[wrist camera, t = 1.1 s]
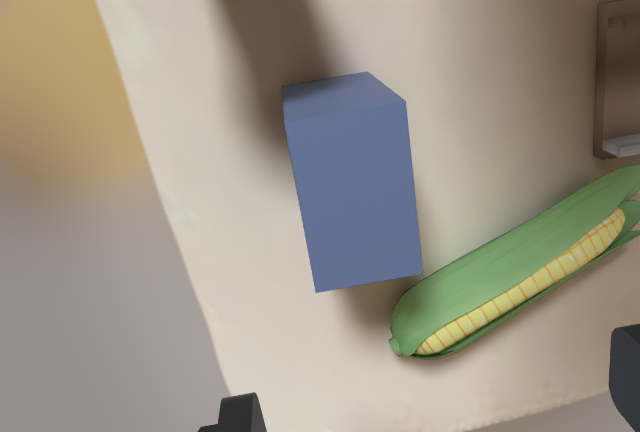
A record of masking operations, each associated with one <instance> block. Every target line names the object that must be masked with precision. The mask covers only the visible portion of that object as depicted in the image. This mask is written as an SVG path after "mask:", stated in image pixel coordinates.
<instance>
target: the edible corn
mask: <svg viewBox="0 0 640 432" xmlns="http://www.w3.org/2000/svg"><path fill="white" fill-rule="evenodd" d="M639 188H640V165H630V166H623V167H621V168H619V169H617V170H615V171H613V172H611V173H609V174H607V175H605V176H603V177H601V178H599V179H597V180H595V181H593V182H592V183H590V184H588V185H586V186H584V187H582V188H581V189H579V190H578V191H576V192H574V193H573V194H571V195H570V196H568V197H567V198H565V199H563V200H562V201H560V202H559V203H557V204H556V205H554V206H552V207H551V208H549V209H548V210H546V211H545V212H543V213H541V214H540V215H538V216H537V217H535V218H533V219H531V220H530V221H528V222H526V223H524V224H522V225H520V226H518V227H516V228H515V229H513V230H511V231H509V232H507V233H505V234H503V235H501V236H499V237H497V238H495V239H493V240H492V241H490V242H488V243H486V244H484V245H482V246H481V247H479V248H477V249H475V250H473V251H471V252H470V253H468V254H466V255H464V256H462V257H460V258H459V259H457V260H455V261H453V262H451V263H449V264H448V265H446V266H445V267H443V268H441V269H440V270H438V271H436V272H435V273H433V274H431V275H430V276H428V277H427V278H425V279H423V280H422V281H420V282H419V283H417V284H416V285H414V286H413V287H411V288H410V289H408V290H407V291H405V292H404V294H403V296H402V297H401V298H400V300H399V301H398V303H397V305H396V307H395V308H394V310H393V314H392V319H391V327H390V329H391V332H392V335H393V338H391V339H390V340H389V343H390V346H391V348H392V349H393V351H394V352H395V354H396V355H397V356H398V357H400V356H401V355H403V354H405V355H407V356H411V357H415V358H419V359H423V360H433V359H441V358H443V357H446V356H448V355H451V354H454V353H456V352H459V351H460V350H462V349H463V348H465V347H467V346H468V345H470V344H471V343H473V342H475V341H476V340H478V339H480V338H481V337H483V336H484V335H486V334H487V333H489V332H490V331H492V330H493V329H495V328H496V327H498V326H499V325H501V324H502V323H504V322H505V321H507V320H508V319H510V318H511V317H513V316H514V315H516V314H517V313H519V312H520V311H522V310H523V309H525V308H526V307H528V306H529V305H531V304H532V303H534V302H535V301H537V300H539V299H540V298H542V297H543V296H545V295H546V294H548V293H549V292H551V291H552V290H554V289H555V288H557V287H559V286H560V285H562V284H563V283H565V282H566V281H568V280H569V279H571V278H572V277H574V276H576V275H577V274H579V273H580V272H582V271H583V270H585V269H587V268H588V267H590V266H591V265H593V264H594V263H596V262H598V261H599V260H601V259H602V258H604V257H606V256H607V255H609V254H610V253H612V252H613V251H615V250H617V249H618V248H620V247H621V246H623V245H624V244H626V243H628V242H629V241H631V240H632V239H634V238H635V237H637V236H638V235H639V234H640V230H639V231H628V230H629V229H630V228H632V227H633V226H634V225H635V224H636V223H637V222H638V221H639V220H640V201H634V200H631V201H628V200H629V199H630V198H631V197H632V196H633V195H634V194H635V193H636V192H637V191H638V189H639Z"/></svg>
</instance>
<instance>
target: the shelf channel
mask: <svg viewBox="0 0 640 432" xmlns="http://www.w3.org/2000/svg"><path fill="white" fill-rule="evenodd" d="M638 154H640V0H618V1H612V2H607V3H601V4H598V33H597V62H596V92H595V121H594V150H593V156H595V157H597V158H599V159H601V160H604V159H610V158H615V157H620V158H621V157H626V156H632V155H638Z"/></svg>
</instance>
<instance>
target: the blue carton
mask: <svg viewBox="0 0 640 432" xmlns="http://www.w3.org/2000/svg"><path fill="white" fill-rule="evenodd" d="M282 96H283V114H284V126H285V131H286V136H287V142H288V147H289V152H290V158H291V163H292V168H293V173H294V179H295V184H296V189H297V195H298V200H299V205H300V211H301V216H302V221H303V227H304V232H305V237H306V243H307V248H308V253H309V259H310V264H311V269H312V275H313V280H314V285H315V291H316V293H318V292H324V291H329V290H335V289H341V288H346V287H352V286H357V285H363V284H369V283H374V282H380V281H385V280H391V279H397V278H402V277H408V276H413V275H419V274H423V270H422V260H421V250H420V240H419V230H418V219H417V209H416V199H415V189H414V179H413V169H412V159H411V149H410V139H409V129H408V119H407V109H406V101H405V100H404V99H402V98H401V97H400V96H398V95H397V94H396V93H395V92H393V91H392V90H391V89H389V88H388V87H387V86H385V85H384V84H383V83H382V82H380V81H379V80H378V79H376V78H375V77H374V76H372V75H371V74H370V73H369V72H362V73H357V74H351V75H345V76H339V77H334V78H328V79H322V80H317V81H311V82H305V83H299V84H294V85H288V86H282Z"/></svg>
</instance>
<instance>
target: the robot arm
mask: <svg viewBox="0 0 640 432" xmlns="http://www.w3.org/2000/svg"><path fill="white" fill-rule="evenodd" d="M609 389H610V393H611V397H612V399H613V402H614V404H615V406H616V408H617V409H618V411H619V412H620V413H621V415H622V416H623V417H624V418H625V420H626V421H627V422H628V423H629V424H630V426H631V427H632V428H633V429H634V430H635V432H640V324H635V325H630V326H624V327H619V328H615V329H614V330H613V332H612V335H611V351H610V370H609ZM198 432H267V431H266V427H265V423H264V419H263V415H262V411H261V408H260V404H259V400H258V397H257V394H256V393H255V392H254V393H249V394H243V395H238V396H232V397H227V398H223V399H222V400H221V406H220V412H219V419H218V424H215V425H209V426H204V427H201V428H200V429H199V431H198Z"/></svg>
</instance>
